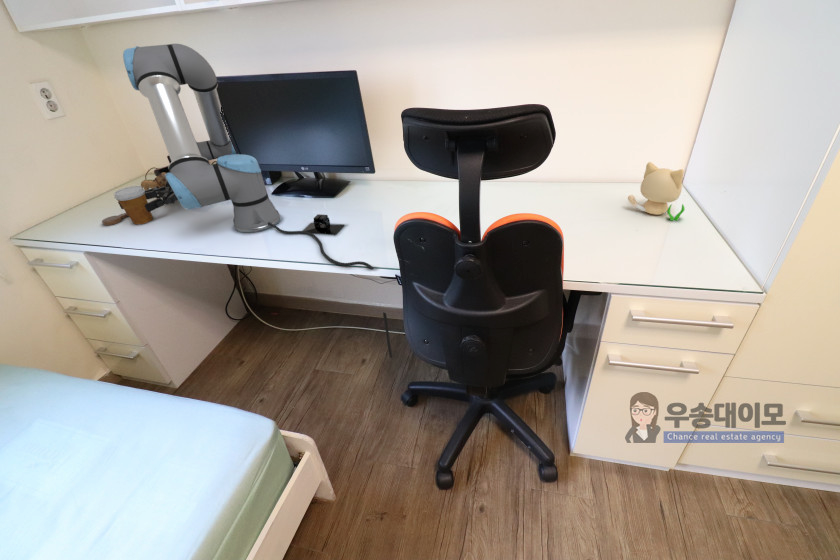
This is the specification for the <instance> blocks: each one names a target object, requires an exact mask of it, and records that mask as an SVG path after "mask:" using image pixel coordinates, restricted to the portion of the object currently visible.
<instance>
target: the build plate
mask: <svg viewBox="0 0 840 560" xmlns="http://www.w3.org/2000/svg"><path fill="white" fill-rule="evenodd" d="M345 226H346V225H345V224H343V223H342V224H341V223H331V221H330V218H329V215H328V214H316V215H315V216H314V217H313V222H310V223H309V224H308V225H307V226H306V227H305V228H304V229H303V230H302V231H307V232H310V233H312V234H314V235H325V236H326V235H330V236H337V235H338V234H339V232H341V231H342V229H343V228H344V227H345Z"/></svg>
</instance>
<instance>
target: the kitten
mask: <svg viewBox="0 0 840 560" xmlns="http://www.w3.org/2000/svg"><path fill="white" fill-rule="evenodd" d="M684 172H685V171H684V169H683V168H680V169H677V170H673V169H670V168H659V167H658V166H657V165H655V164H654V163H653V162H652V161H648V162H647V163H646V165H645V171H644V173H643V179H642V181H641V183H640V186H639V187H640V194H641V195H642V197H644V198H645V199H646V200H645V202H643V204H640V203H638V202H637V200H636V198H635V196H634V195H633V194H630V195H629V194H628V196H627V201H628V202H629V203H630V204H631V205H632V206H633V207H635V208H636V209H637V210H639V211H642V212H645V213H647V214H650V215H663V214H665V213H666V214H667V215H668V219H669V221H676V222H678V220H679V219H680V217H681V215H682V214H683V213H684V212H685V210H686V208H685V206H684V204H683V203H682V204H681V210H680V211H679V212H678V213H676V215H675V216H673V215H672V213H671V208H672V205H673V204H672V203H673V202H675V201H677V200H678V199H680V197H681V194H682V190H683V184H682V183H683V178H684ZM669 203H671V204H670V205H669Z"/></svg>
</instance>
